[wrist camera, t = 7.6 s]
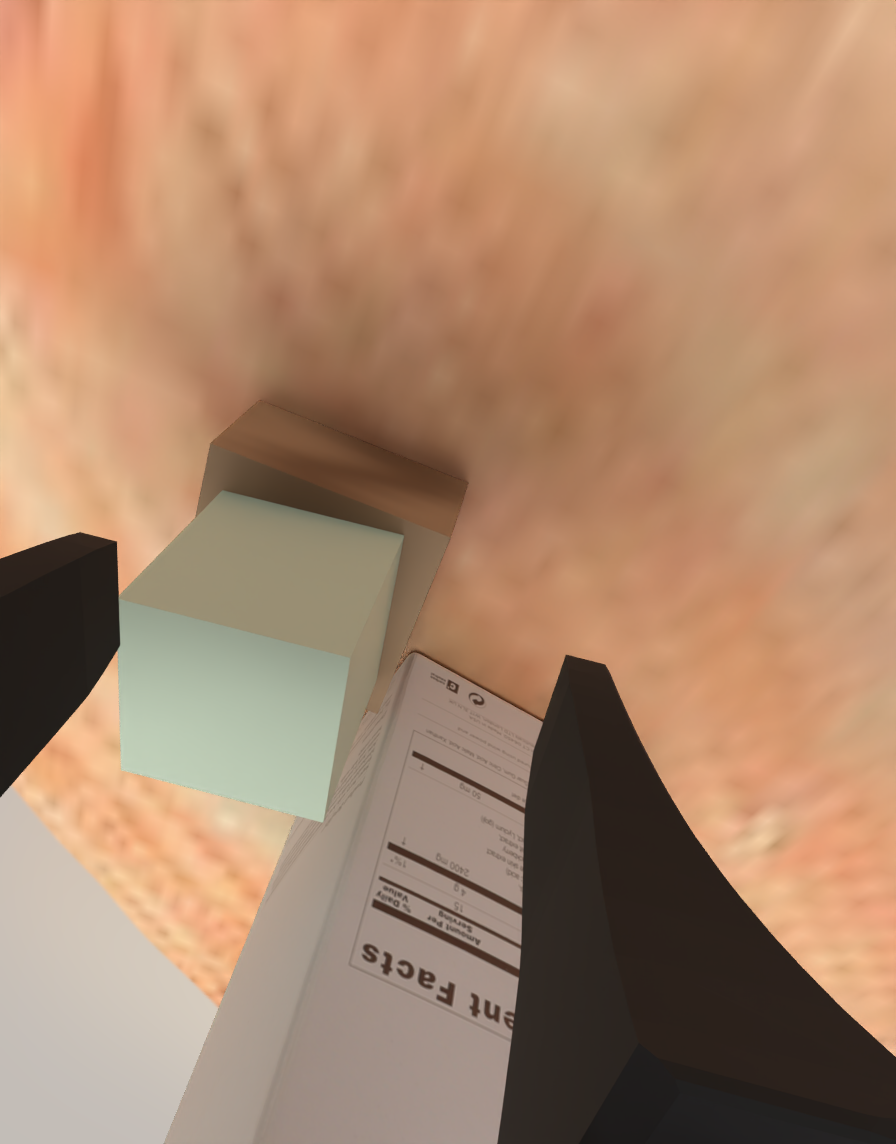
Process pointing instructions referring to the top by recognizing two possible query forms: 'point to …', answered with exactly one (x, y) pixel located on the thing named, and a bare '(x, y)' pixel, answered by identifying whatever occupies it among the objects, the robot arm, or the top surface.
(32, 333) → the top surface
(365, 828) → the supplement box
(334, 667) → the sage block
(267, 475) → the walnut block
